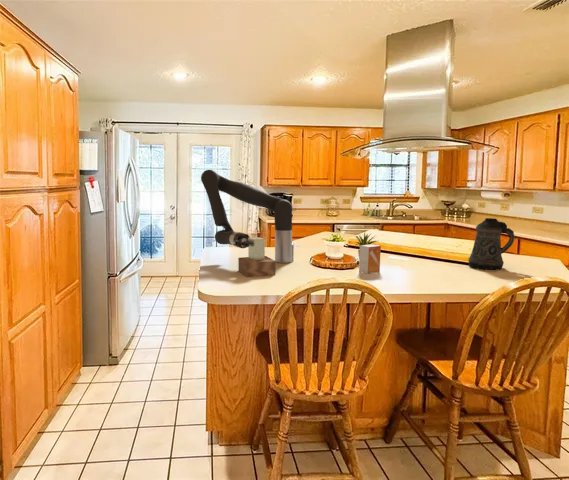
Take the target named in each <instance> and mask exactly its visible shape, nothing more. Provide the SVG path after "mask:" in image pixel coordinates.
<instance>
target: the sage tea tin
mask: <svg viewBox="0 0 569 480" xmlns="http://www.w3.org/2000/svg"><path fill="white" fill-rule="evenodd" d="M248 243H249V247H247V248H248V250H247V251H248V257H249V259H250V260H254V261H257V260H265V256H266V255H265V254H266V251H265V250H266V249H265V247H266V246H265V245H266V244H265V243H266V241H265V238H263V237H259V236H258V237H251V238H248Z"/></svg>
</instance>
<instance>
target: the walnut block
mask: <svg viewBox="0 0 569 480" xmlns="http://www.w3.org/2000/svg"><path fill="white" fill-rule="evenodd" d="M237 263H238V265H237V267H238V272H239V273H241V274H242V275H243V276H245V278H252V277H253V278H255V277H254V276H256V277H266V276H267V277H268V275H269V276H276V262H275V259H273V258H271V257H268V256H267V255H265V260H257V261H254V260H250V259H249V256H245V257H238V260H237Z"/></svg>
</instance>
